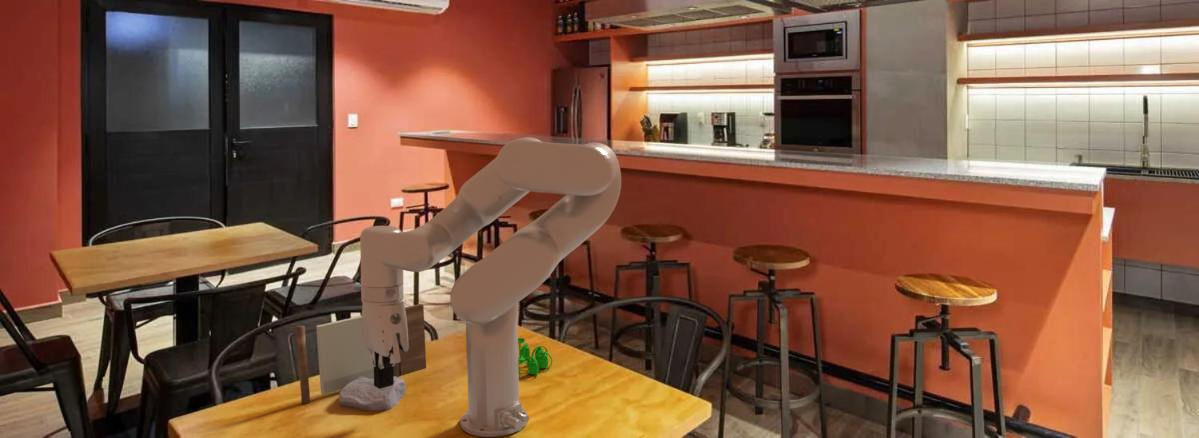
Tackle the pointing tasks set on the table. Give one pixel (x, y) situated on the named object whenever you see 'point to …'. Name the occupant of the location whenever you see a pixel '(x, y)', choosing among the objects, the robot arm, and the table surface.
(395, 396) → the stone block
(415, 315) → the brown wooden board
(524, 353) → the chandelier
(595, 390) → the table surface
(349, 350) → the door
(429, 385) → the table surface
